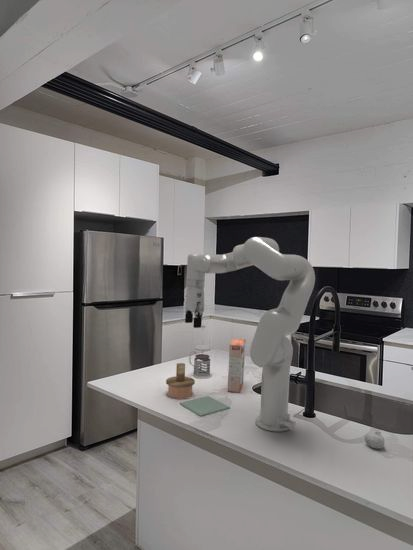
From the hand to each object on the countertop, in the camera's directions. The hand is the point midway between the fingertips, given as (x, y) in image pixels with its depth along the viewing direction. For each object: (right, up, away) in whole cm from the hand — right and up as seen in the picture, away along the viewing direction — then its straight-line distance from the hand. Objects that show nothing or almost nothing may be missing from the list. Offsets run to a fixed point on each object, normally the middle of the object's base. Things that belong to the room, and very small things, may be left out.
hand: (192, 325), depth 159 cm
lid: (-5, -25, +2) cm, 25 cm away
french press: (+3, -29, +29) cm, 41 cm away
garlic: (+59, -34, -38) cm, 77 cm away
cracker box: (+19, -30, +14) cm, 38 cm away
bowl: (-5, -30, +3) cm, 30 cm away
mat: (+5, -30, -9) cm, 32 cm away
